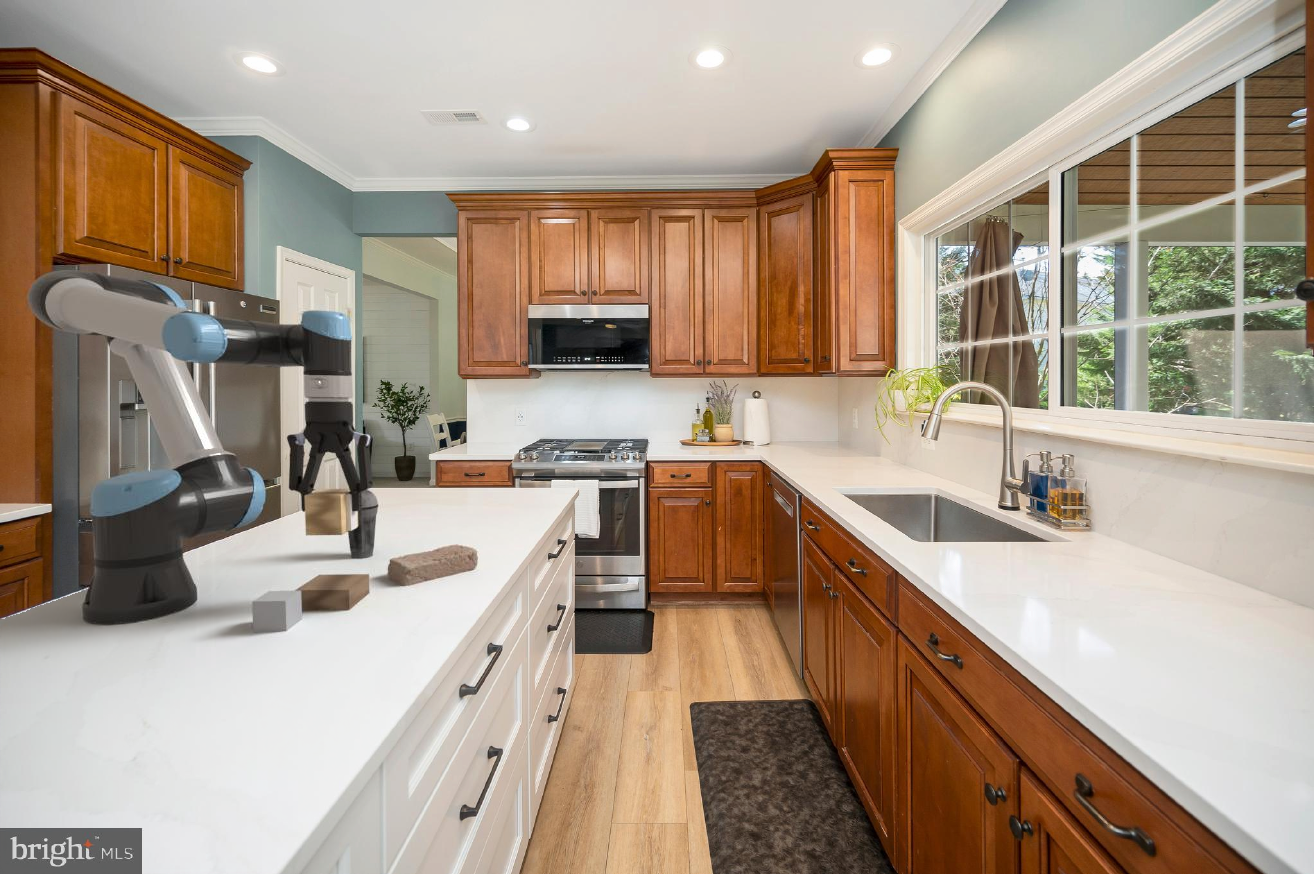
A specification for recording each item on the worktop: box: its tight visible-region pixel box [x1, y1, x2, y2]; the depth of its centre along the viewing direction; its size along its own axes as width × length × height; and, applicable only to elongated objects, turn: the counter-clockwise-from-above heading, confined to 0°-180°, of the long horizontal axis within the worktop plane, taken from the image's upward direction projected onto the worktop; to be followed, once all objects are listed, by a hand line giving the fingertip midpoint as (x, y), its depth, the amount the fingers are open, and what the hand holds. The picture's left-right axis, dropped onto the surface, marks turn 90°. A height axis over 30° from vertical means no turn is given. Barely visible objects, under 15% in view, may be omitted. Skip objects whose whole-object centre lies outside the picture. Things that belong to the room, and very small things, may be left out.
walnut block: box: [294, 573, 370, 612], centre depth 110 cm, size 9×9×4 cm
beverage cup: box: [347, 489, 379, 559], centre depth 139 cm, size 7×7×20 cm
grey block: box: [251, 590, 303, 633], centre depth 98 cm, size 5×5×5 cm
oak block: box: [304, 488, 358, 536], centre depth 108 cm, size 6×7×7 cm
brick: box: [387, 544, 479, 587], centre depth 127 cm, size 17×8×5 cm, turn 139°
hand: (332, 528), depth 109 cm, fingers closed on oak block, 6 cm apart
